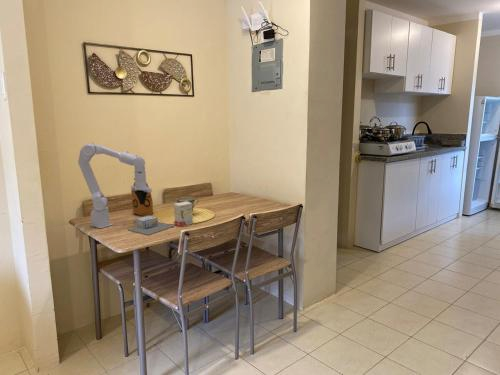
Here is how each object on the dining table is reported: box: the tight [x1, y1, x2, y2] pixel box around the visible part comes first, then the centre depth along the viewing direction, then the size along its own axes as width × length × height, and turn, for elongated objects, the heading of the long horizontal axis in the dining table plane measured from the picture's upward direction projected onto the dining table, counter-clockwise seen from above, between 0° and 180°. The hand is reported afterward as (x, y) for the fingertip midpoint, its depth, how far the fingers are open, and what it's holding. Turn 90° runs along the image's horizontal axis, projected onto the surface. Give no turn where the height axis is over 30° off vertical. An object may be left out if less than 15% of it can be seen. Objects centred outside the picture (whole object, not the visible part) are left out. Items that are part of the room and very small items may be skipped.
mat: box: [127, 221, 176, 236], centre depth 192 cm, size 16×18×1 cm
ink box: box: [173, 201, 194, 228], centre depth 197 cm, size 9×5×12 cm, turn 135°
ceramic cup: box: [176, 196, 200, 215], centre depth 217 cm, size 13×10×10 cm
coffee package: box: [130, 177, 154, 217], centre depth 220 cm, size 10×12×22 cm
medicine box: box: [135, 215, 159, 229], centre depth 195 cm, size 8×4×9 cm
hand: (142, 204), depth 202 cm, fingers closed
